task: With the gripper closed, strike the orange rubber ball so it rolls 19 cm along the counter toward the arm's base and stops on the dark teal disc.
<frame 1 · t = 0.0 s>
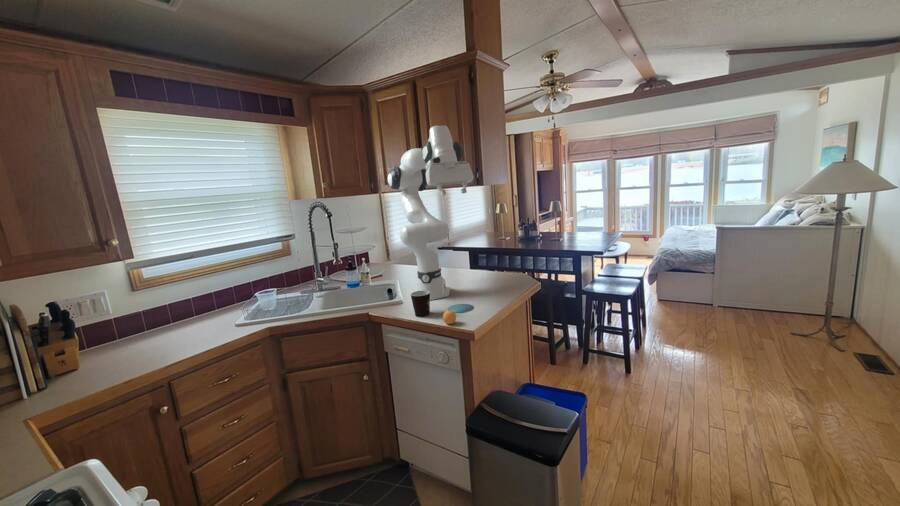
hand: (454, 193, 149), 52 cm above the counter, tool tilted 20°, fingers open, 8 cm apart
ball: (449, 317, 149), on the counter
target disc: (460, 308, 167), on the counter
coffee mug: (424, 314, 165), on the counter
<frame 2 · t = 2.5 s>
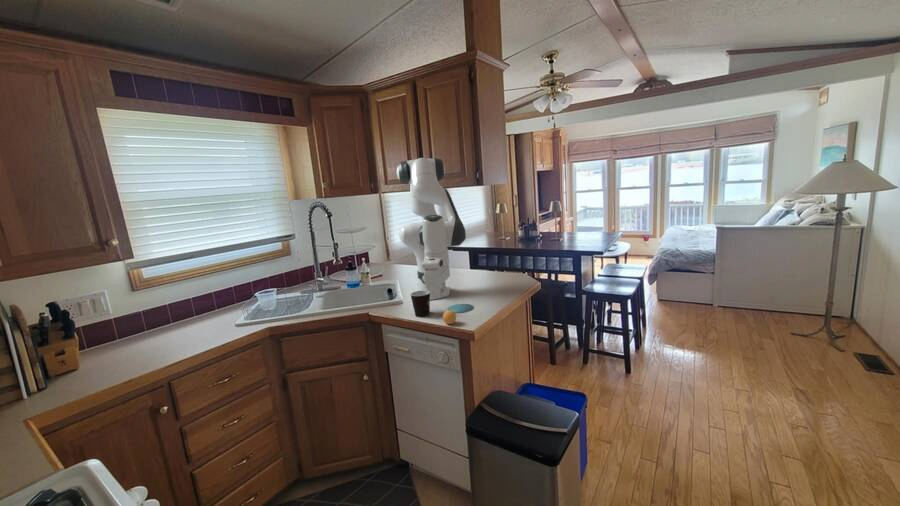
hand: (440, 295, 138), 15 cm above the counter, tool pointing down, fingers open, 3 cm apart
nothing on the counter moved.
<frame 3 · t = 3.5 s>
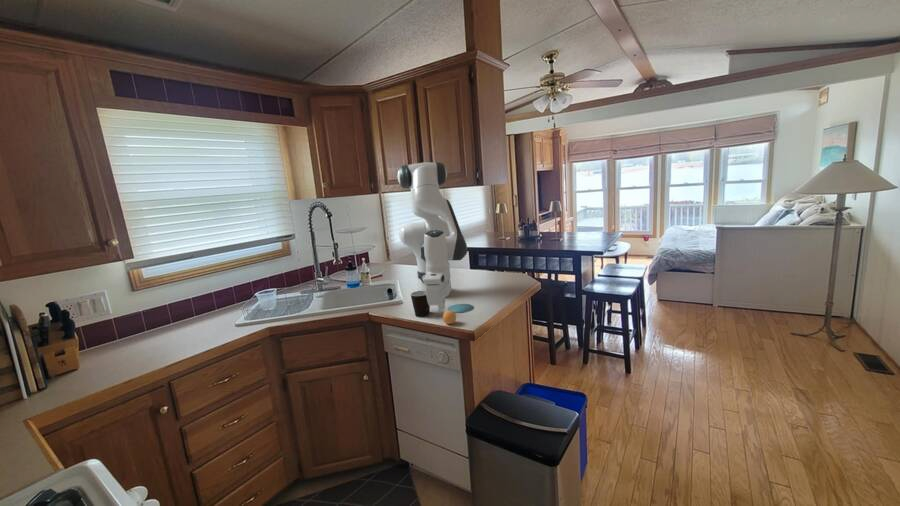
hand: (441, 309, 138), 9 cm above the counter, tool pointing down, fingers closed
nothing on the counter moved.
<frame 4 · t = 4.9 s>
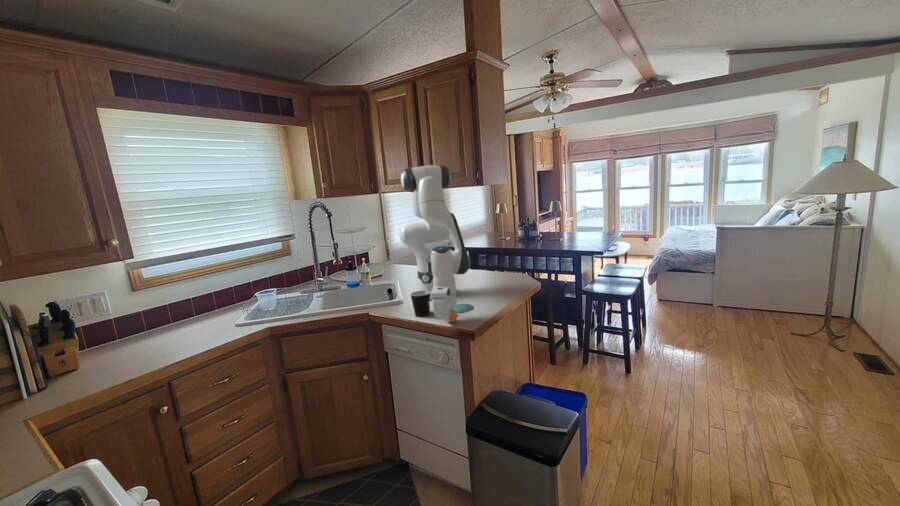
hand: (447, 321, 147), 2 cm above the counter, tool pointing down, fingers closed
ball: (450, 315, 151), on the counter, touching gripper
everything else where it was.
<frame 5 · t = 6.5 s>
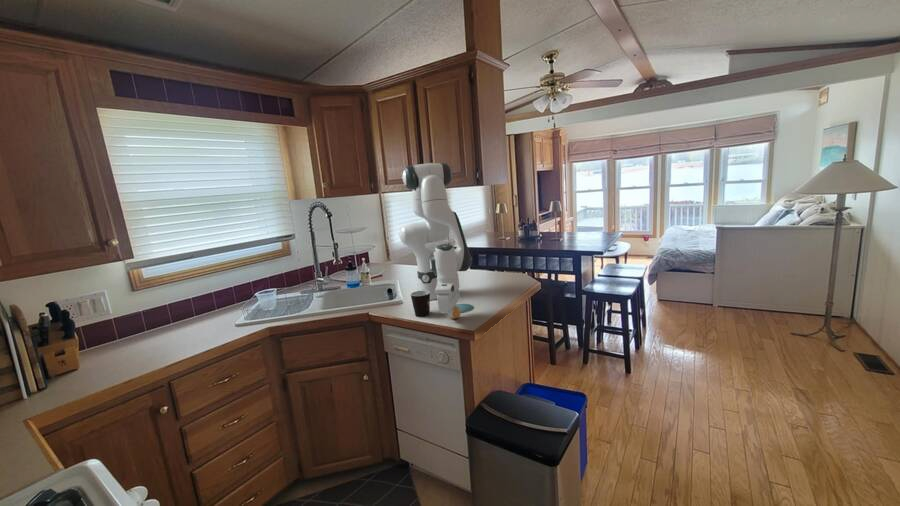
hand: (451, 316, 151), 2 cm above the counter, tool pointing down, fingers closed
ball: (453, 312, 155), on the counter, touching gripper
everything else where it was.
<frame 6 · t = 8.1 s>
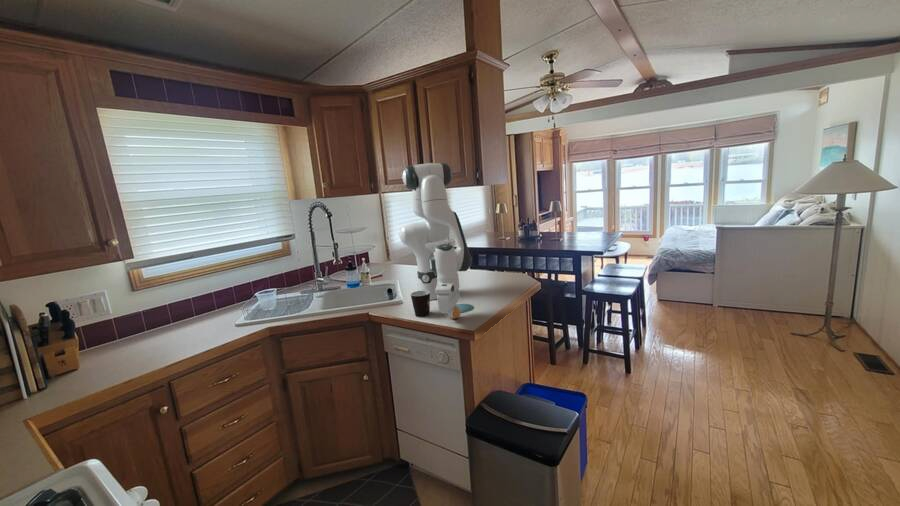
hand: (451, 316, 151), 2 cm above the counter, tool pointing down, fingers closed
nothing on the counter moved.
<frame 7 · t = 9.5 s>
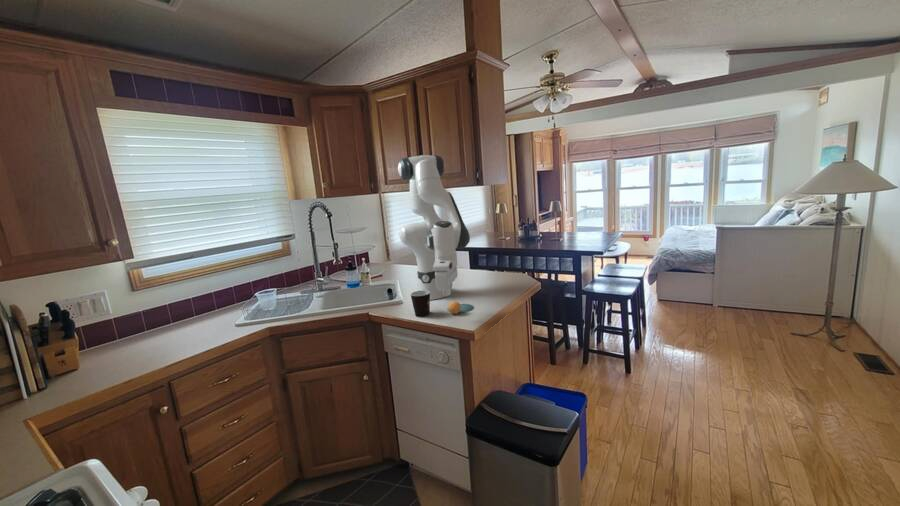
hand: (449, 294, 151), 12 cm above the counter, tool pointing down, fingers closed
ball: (454, 307, 160), on the counter
everything else where it was.
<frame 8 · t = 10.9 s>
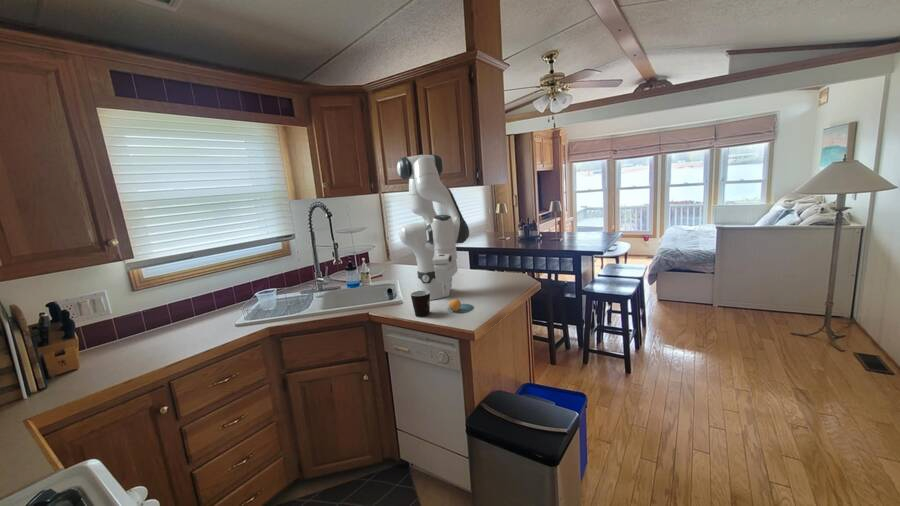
hand: (448, 288, 150), 14 cm above the counter, tool pointing down, fingers closed
ball: (454, 305, 164), on the counter
everything else where it was.
at the end: ball 4.1 cm from the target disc (horizontally); ball at rest at the end (0.0 cm/s); ball moved 15.3 cm from its start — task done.
